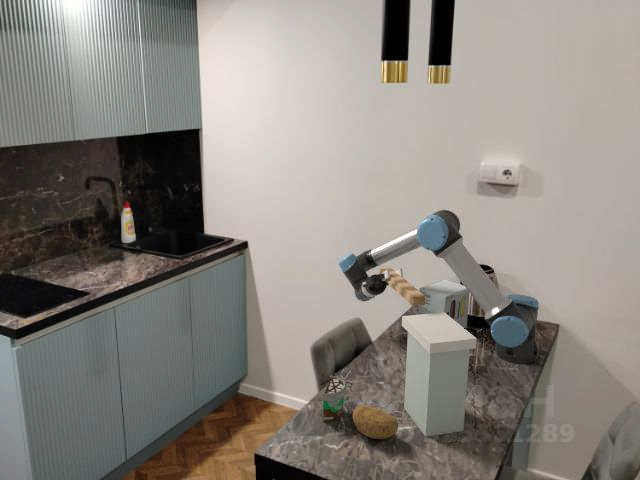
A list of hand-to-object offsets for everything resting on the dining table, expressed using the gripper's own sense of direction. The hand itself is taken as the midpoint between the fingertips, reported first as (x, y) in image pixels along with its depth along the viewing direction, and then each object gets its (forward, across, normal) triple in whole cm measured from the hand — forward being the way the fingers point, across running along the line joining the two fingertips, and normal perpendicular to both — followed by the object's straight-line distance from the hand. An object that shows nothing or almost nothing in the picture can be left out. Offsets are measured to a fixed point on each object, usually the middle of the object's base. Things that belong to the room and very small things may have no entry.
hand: (395, 272), depth 203 cm
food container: (+3, +28, -43) cm, 52 cm away
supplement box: (-42, -33, -17) cm, 56 cm away
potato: (+15, +20, -50) cm, 56 cm away
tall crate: (+12, 0, -48) cm, 49 cm away
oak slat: (+3, 0, -6) cm, 7 cm away
